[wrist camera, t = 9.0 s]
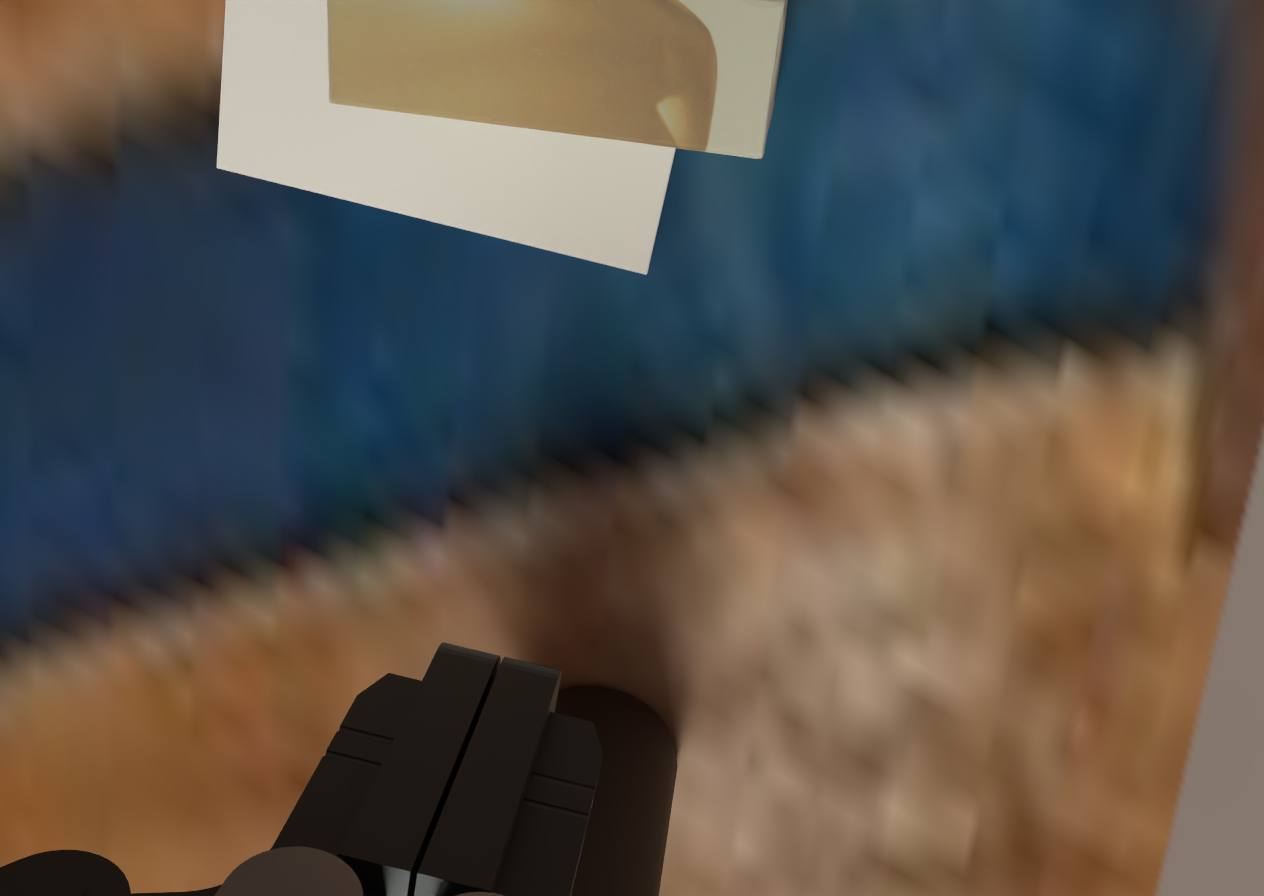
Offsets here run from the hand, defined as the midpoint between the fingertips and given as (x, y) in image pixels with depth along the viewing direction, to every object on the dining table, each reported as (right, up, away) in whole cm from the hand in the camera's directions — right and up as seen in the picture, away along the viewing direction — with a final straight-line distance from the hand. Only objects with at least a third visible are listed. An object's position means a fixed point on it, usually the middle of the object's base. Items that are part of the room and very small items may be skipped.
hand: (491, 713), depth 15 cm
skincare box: (+6, +14, +19) cm, 24 cm away
